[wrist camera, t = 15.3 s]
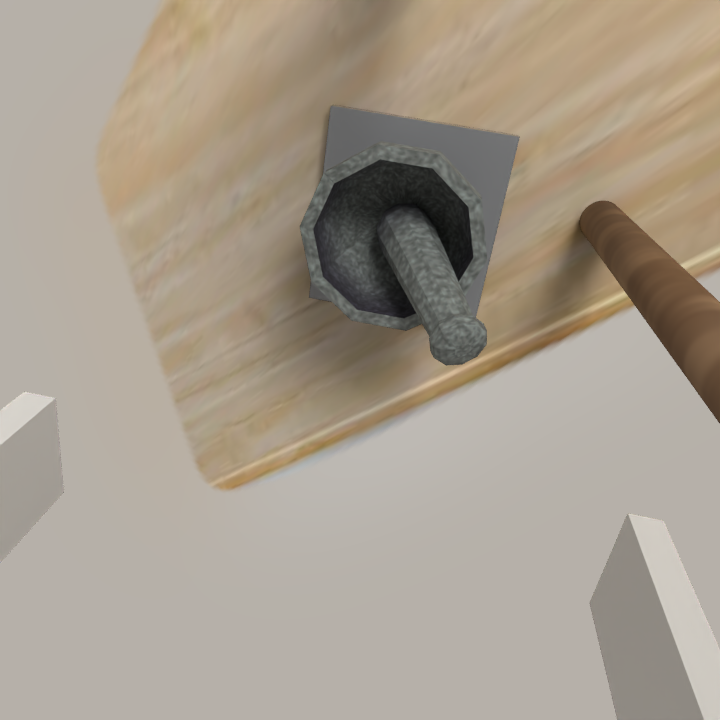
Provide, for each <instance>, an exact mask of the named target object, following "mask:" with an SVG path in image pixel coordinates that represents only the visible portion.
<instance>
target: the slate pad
mask: <svg viewBox="0 0 720 720" xmlns="http://www.w3.org/2000/svg"><path fill="white" fill-rule="evenodd" d="M380 141H384V142H389V143H395V144H401V145H407V146H413V147H419V148H425V149H431V150H436V151H441V152H442V153H443V155H444V156H445V157H446V158H447V159H448V160H449V161H450V162H451V163H452V164H453V165H454V166H455V168H456V169H457V170H458V171H459V172H460V173H461V174H462V175H463V176H464V177H465V178H466V180H467V181H468V182H469V183H470V184H471V185H472V186H473V187H474V188H475V189H476V190H477V191H478V193H479V194H480V195H481V198H482V206H483V217H484V228H485V239H486V251H487V261H486V263H485V265H484V266H483V268H482V270H481V271H480V273H479V274H478V276H477V278H476V279H475V281H474V282H473V284H472V286H471V287H470V289H469V291H468V292H467V294H466V295H465V298H466V300H467V303H468V305H469V307H470V310H471V312H472V314H473V316H474V317H475V318H476V314H477V310H478V306H479V302H480V298H481V294H482V290H483V285H484V281H485V277H486V273H487V269H488V265H489V261H490V257H491V253H492V248H493V244H494V240H495V236H496V232H497V228H498V224H499V220H500V216H501V211H502V207H503V203H504V199H505V195H506V191H507V187H508V183H509V178H510V174H511V170H512V166H513V162H514V158H515V154H516V150H517V146H518V141H519V136H518V135H513V134H507V133H501V132H495V131H489V130H483V129H477V128H471V127H465V126H459V125H452V124H446V123H440V122H434V121H428V120H422V119H416V118H410V117H404V116H398V115H392V114H386V113H380V112H374V111H368V110H362V109H356V108H350V107H344V106H338V105H331V109H330V117H329V126H328V135H327V144H326V153H325V162H324V171H323V174H324V173H325V172H326V171H327V170H328V169H329V168H331V167H333V166H335V165H337V164H339V163H341V162H342V161H344V160H346V159H348V158H350V157H352V156H354V155H355V154H357V153H359V152H361V151H363V150H365V149H367V148H369V147H370V146H372V145H374V144H376V143H378V142H380ZM309 298H314V299H319V300H325V301H330V302H332V301H331V300H330V299H329V298H328V297H327V296H326V295H324V294H323V293H322V292H321V291H320V290H319V289H318V288H317V287H316V286H315V285H314V284H313V283H312V282H311V286H310V294H309Z"/></svg>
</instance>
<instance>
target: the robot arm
mask: <svg viewBox="0 0 720 720" xmlns="http://www.w3.org/2000/svg"><path fill="white" fill-rule="evenodd" d="M63 493H64V487H63V476H62V464H61V453H60V442H59V430H58V419H57V408H56V398H53V397H48V396H43V395H38V394H33V393H28V392H24V393H22V394H21V395H19V396H18V397H17V398H16V399H14V400H13V401H12V402H10V403H9V404H8V405H7V406H5V407H4V408H3V409H2V410H0V563H1V562H2V560H3V559H4V558H5V557H6V556H7V555H8V554H9V552H11V550H12V549H13V548H14V547H15V546H16V545H17V544H18V543H19V542H20V541H21V539H22V538H23V537H24V536H25V535H26V534H27V533H28V532H29V531H30V529H31V528H32V527H33V526H34V525H35V524H36V523H37V522H38V521H39V519H40V518H41V517H42V516H43V515H44V514H45V513H46V512H47V511H48V509H49V508H50V507H51V506H52V505H53V504H54V503H55V502H56V501H57V499H58V498H59V497H60V496H61V495H62V494H63ZM590 607H591V611H592V615H593V620H594V624H595V628H596V632H597V636H598V640H599V645H600V649H601V653H602V657H603V661H604V666H605V670H606V674H607V678H608V682H609V687H610V691H611V695H612V699H613V703H614V707H615V712H616V716H617V720H720V648H719V646H718V644H717V641H716V639H715V637H714V634H713V632H712V630H711V628H710V625H709V623H708V621H707V619H706V616H705V614H704V612H703V610H702V607H701V605H700V603H699V600H698V598H697V596H696V593H695V591H694V589H693V587H692V584H691V582H690V580H689V578H688V576H687V573H686V571H685V568H684V566H683V564H682V562H681V559H680V557H679V555H678V552H677V550H676V548H675V546H674V544H673V541H672V539H671V537H670V534H669V532H668V530H667V527H666V525H665V523H664V521H663V520H659V519H654V518H649V517H644V516H639V515H634V514H627V517H626V519H625V521H624V524H623V526H622V528H621V531H620V533H619V535H618V538H617V540H616V542H615V545H614V547H613V549H612V552H611V554H610V556H609V559H608V561H607V563H606V566H605V568H604V570H603V573H602V575H601V578H600V580H599V582H598V585H597V587H596V589H595V592H594V594H593V596H592V599H591V601H590Z"/></svg>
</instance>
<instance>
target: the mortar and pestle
mask: <svg viewBox="0 0 720 720" xmlns="http://www.w3.org/2000/svg"><path fill="white" fill-rule="evenodd" d="M300 230H301V235H302V240H303V245H304V249H305V254H306V259H307V264H308V268H309V273H310V278H311V282H312V283H313V284H314V285H315V286H316V287H317V288H318V289H319V290H320V291H321V292H322V293H323V294H324V295H326V296H327V297H328V298H329V299H330V300H331V301H332V302H333V303H334V304H335V305H336V306H337V307H338V308H339V309H340V310H341V311H342V312H343V313H344V314H345V315H346V316H347V317H348V318H349V319H351V320H352V321H357V322H363V323H368V324H373V325H379V326H384V327H389V328H395V329H400V330H405V331H406V330H409V329H411V328H413V327H416V326H418V325H420V324H423V326H424V328H425V330H426V331H427V333H428V335H429V337H430V338H429V341H430V351H431V353H432V355H433V357H434V358H435V359H437V360H438V361H440V362H442V363H443V364H445V365H460V364H464V363H465V362H467V361H469V360H471V359H473V358H475V357H477V356H478V355H479V353H480V352H481V351H482V350H483V348H484V347H485V346H486V344H487V330H486V328H485V326H484V324H483V323H482V322H481V321H479V320H478V319H477V318H475V317H474V316H473V314H472V312H471V310H470V307H469V305H468V303H467V300H466V298H465V295H466V294H467V292H468V291H469V289H470V287H471V286H472V284H473V282H474V281H475V279H476V278H477V276H478V274H479V273H480V271H481V270H482V268H483V266H484V265H485V263H486V261H487V251H486V239H485V228H484V217H483V206H482V198H481V195H480V194H479V193H478V191H477V190H476V189H475V188H474V187H473V186H472V185H471V184H470V183H469V182H468V181H467V180H466V178H465V177H464V176H463V175H462V174H461V173H460V172H459V171H458V170H457V169H456V168H455V166H454V165H453V164H452V163H451V162H450V161H449V160H448V159H447V158H446V157H445V156H444V155H443V153H442V152H441V151H436V150H431V149H425V148H419V147H413V146H407V145H401V144H395V143H389V142H384V141H380V142H378V143H376V144H374V145H372V146H370V147H369V148H367V149H365V150H363V151H361V152H359V153H357V154H355V155H354V156H352V157H350V158H348V159H346V160H344V161H342V162H341V163H339V164H337V165H335V166H333V167H331V168H329V169H328V170H327V171H326V172H325V173H324V174H323V176H322V178H321V181H320V183H319V185H318V187H317V189H316V192H315V194H314V196H313V198H312V200H311V203H310V205H309V207H308V209H307V211H306V214H305V216H304V218H303V220H302V223H301V225H300Z"/></svg>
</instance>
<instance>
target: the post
mask: <svg viewBox="0 0 720 720" xmlns="http://www.w3.org/2000/svg"><path fill="white" fill-rule="evenodd" d="M580 228H581V230H582V232H583V234H584V235H585V237H586V238H587V239H588V241H589V242H590V243H591V245H592V246H593V248H594V249H595V250H596V252H597V253H598V255H599V256H600V257H601V259H602V260H603V262H604V263H605V264H606V266H607V267H608V269H609V270H610V271H611V273H612V274H613V276H614V277H615V278H616V280H617V281H618V282H619V284H620V285H621V287H622V288H623V289H624V291H625V292H626V294H627V295H628V296H629V298H630V299H631V301H632V302H633V303H634V305H635V306H636V308H637V309H638V310H639V312H640V313H641V315H642V316H643V317H644V319H645V320H646V322H647V323H648V324H649V326H650V327H651V328H652V330H653V331H654V333H655V334H656V335H657V337H658V338H659V339H660V341H661V342H662V344H663V345H664V347H665V348H666V349H667V351H668V352H669V354H670V355H671V356H672V358H673V359H674V360H675V362H676V363H677V365H678V366H679V367H680V369H681V370H682V372H683V373H684V374H685V376H686V377H687V379H688V380H689V381H690V383H691V384H692V385H693V387H694V388H695V390H696V391H697V392H698V394H699V395H700V397H701V398H702V400H703V401H704V402H705V404H706V405H707V406H708V408H709V409H710V411H711V412H712V413H713V414H714V416H715V418H716V419H717V420H718V422H719V423H720V302H719V301H718V300H717V299H716V298H715V297H714V296H713V295H712V294H711V293H709V292H708V291H707V290H706V289H705V288H704V287H703V286H702V285H701V284H700V283H699V282H698V281H697V280H696V279H694V278H693V277H692V276H691V275H690V274H689V273H688V272H687V271H686V270H685V269H684V268H683V267H682V266H680V265H679V264H678V263H677V262H676V261H675V260H674V259H673V258H672V257H671V256H670V255H669V254H668V253H667V252H665V251H664V250H663V249H662V248H661V247H660V246H659V245H658V244H657V243H656V242H655V241H654V240H653V239H652V238H650V237H649V236H648V235H647V234H646V233H645V232H644V231H643V230H642V229H641V228H640V227H639V226H638V225H637V224H635V223H634V222H633V221H632V220H631V219H630V218H629V217H628V216H627V215H626V214H625V213H624V212H623V211H621V210H620V209H619V208H618V207H617V206H616V205H615V204H613V203H611V202H609V201H598V202H595V203H593V204H591V205H589V206H588V207H587V208H586V209H585V210H584V212H583V213H582V215H581V218H580Z"/></svg>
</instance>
